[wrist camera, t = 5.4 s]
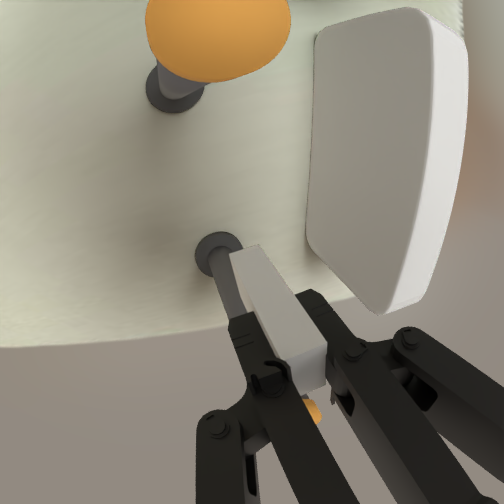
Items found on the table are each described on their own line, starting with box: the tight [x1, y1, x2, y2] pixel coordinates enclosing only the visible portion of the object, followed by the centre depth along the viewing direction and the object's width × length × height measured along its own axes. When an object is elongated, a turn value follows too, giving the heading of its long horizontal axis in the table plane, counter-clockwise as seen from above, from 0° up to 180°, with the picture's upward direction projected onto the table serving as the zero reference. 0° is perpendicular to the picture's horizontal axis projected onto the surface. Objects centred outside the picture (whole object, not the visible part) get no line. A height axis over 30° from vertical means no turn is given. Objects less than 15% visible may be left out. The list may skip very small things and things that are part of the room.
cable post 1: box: [145, 0, 291, 113], centre depth 15 cm, size 6×6×24 cm
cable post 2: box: [195, 232, 322, 425], centre depth 26 cm, size 6×6×24 cm
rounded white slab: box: [306, 7, 468, 315], centre depth 26 cm, size 29×8×18 cm, turn 0°
